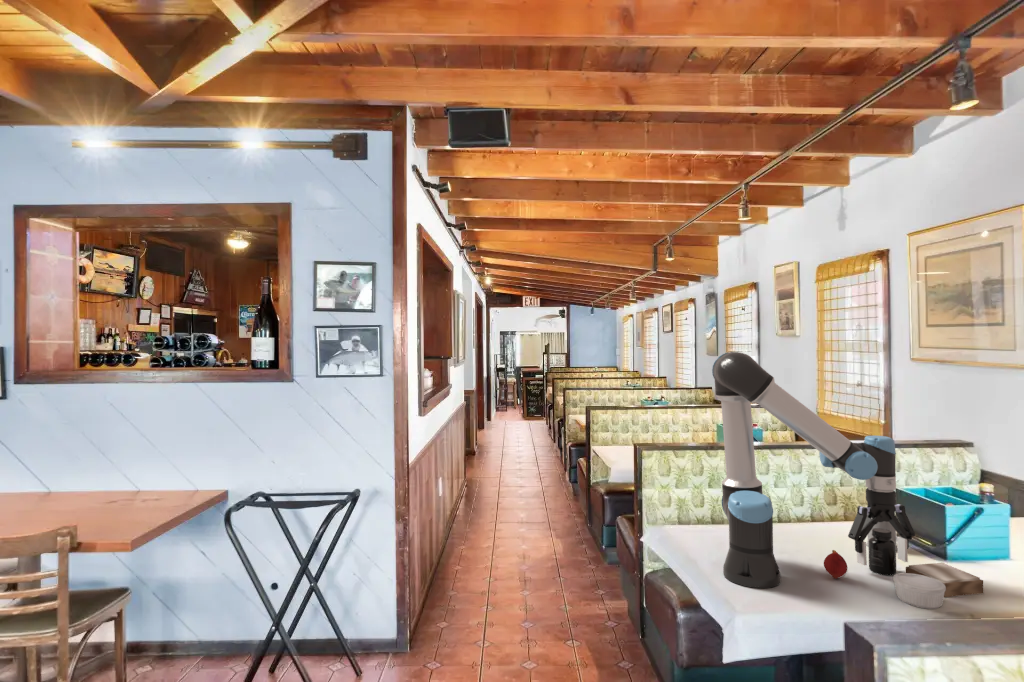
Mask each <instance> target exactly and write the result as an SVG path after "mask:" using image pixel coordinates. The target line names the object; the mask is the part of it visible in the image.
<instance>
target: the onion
mask: <svg viewBox="0 0 1024 682" xmlns="http://www.w3.org/2000/svg"><path fill="white" fill-rule="evenodd" d="M823 567H824V569H825V571H826V572H827V573H828V574H829V575H830V576H831V578H833V579H834V580H836V579H840V578H842V577H843V576H845V574H847V572H848V564H847V561H846V559H845V558H844V557H843V556H842V555H841V554H839V553H838V552H837V551H836V550H835V549H832V552H831V553H829V554H828V555H827V556H826V557H825V558H824V560H823Z"/></svg>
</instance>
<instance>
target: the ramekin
mask: <svg viewBox="0 0 1024 682" xmlns="http://www.w3.org/2000/svg"><path fill="white" fill-rule="evenodd" d="M892 576H893V577H892V581H893V583H894V588H895V593H896V596H897V598H898V599H899V600H900V601H901V600H902V602H903V603H905V604H907V605H910V604H911V605H910V606H912V605H913V607H917V608H921V609H932V610H933V609H938V608H941V606H943V603H944V598H945V597H944V592H945V591H946V586H945V585H944V584H943V583H942V582H940V581H938V580H936V579H934V578H931V577H927V576H923V575H918V574H911V573H906V572H902V573H900V572H899V573H896V574H895V575H892Z"/></svg>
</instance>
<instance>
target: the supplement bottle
mask: <svg viewBox="0 0 1024 682" xmlns="http://www.w3.org/2000/svg"><path fill="white" fill-rule="evenodd" d="M872 536H873V537H872V538H870V539H869V541H868V540H867V541H868V546H867V547H868V569H869V570H870V571H871V572H872V571H873V572H872V573H875V574H877V573H878V575H881V574H882V575H883V576H894V575H895V574H897V551H896V546H897V543H896V544H895V543H894V541H892V540H891V538H892V532H891V531H890V530H887V529H882V528H874V529H872Z"/></svg>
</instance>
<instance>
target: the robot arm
mask: <svg viewBox="0 0 1024 682" xmlns="http://www.w3.org/2000/svg"><path fill="white" fill-rule="evenodd" d="M711 371H712V376H713V377H712V378H713V379H714V391H715V397H716V398H718V400H719V401H720V402H721V403H720V404H721V417H722V418H721V419H722V431H723V445H724V458H725V459H724V460H725V461H724V462H725V471H726V474H725V475H726V477H725V478H724V479H723V480H722V481H721V486H722V496H721V508H722V510H723V513H724V515H725V517H726V519H727V521H728V530H729V531H728V533H729V534H728V539H729V540H728V541H729V547H728V551H727V554H726V558H725V560H724V563H723V566H722V567H723V571H722V572H723V573H722V575H723V576H724V578H726V580H727V581H729V582H732V583H734V584H736V585H739V586H744V587H749V588H757V589H766V588H767V589H768V588H774V587H777V586H779V585H780V584H781V581H782V580H781V572H780V571H781V570H780V568H779V566H778V563H777V560H776V558H775V554H774V529H773V528H774V527H773V526H774V521H773V519H774V518H773V517H774V516H773V515H774V507H773V501H772V499H770V497H769V496H767V495H766V494H764V492H763V491H764V490H763V482H762V481H761V480H760V479H758V478H757V473H756V472H757V471H756V470H757V469H756V457H755V444H754V432H753V431H754V430H753V429H754V427H753V417H752V404H757V405H759V406H760V407H761V408H762V409H764V410H766V411H767V412H768V413H769V414H771V415H772V416H774V418H776V419H777V420H778V421H780V422H781V423H782V424H783V425H785V426H786V427H788V428H789V429H790V430H791V431H793V432H794V433H795V434H796V435H797V436H799V437H800V438H802V439H803V440H804V441H806V442H807V443H808V444H809V445H811V446H812V447H813V448H814V449H816V450H817V451H818V452H819V460H820V464H821V465H822V466H823V467H824V468H831V469H836V468H838V469H840V470H841V471H843V472H845V474H847V475H849V476H850V477H852V478H854V479H855V480H856V479H857V480H860V481H865V487H866V489H865V500H866V502H867V506H866V507H865V506H861V505H858V506H857V510H856V511H857V512H856V515H855V518H854V520H853V522H852V525H851V527H850V530H849V533H848V535H847V537H848V539H851V540H853V541H854V550H855V552H856V562H857V563H859V564H861V565H862V566H867V562H868V561H867V545H866V544H867V542H865V540H866V538H868V534H869V532H870V531H871V529H872V528H873V526H874V525H875V524H877V523H878V522H883V521H885V522H890V524H891V525H892V526H893V527H894V529H895V530H896V533H897V534H898V535H899V536H896V546H897V548H898V550H897V559H898V560H899V561H900V560H901V561H902V562H904V563H906V562H907V563H908V561H909V560H908V550H909V548H910V543H909V542H910V541H909V540H912V539H913V537H915V536H916V533H915V530H914V528H913V525H912V524H911V521H910V519H909V516H908V515H907V514H906V507H905V505H903V504H899V503H897V492H896V491H895V490H897V478H896V477H897V475H896V457H897V456H896V455H897V453H896V443H895V440H894V439H893V438H892V437H889V436H885V435H866V436H865V437H864V441H863V442H852V441H851V440H850V439H849V438H848V437H846V436H845V435H843V434H842V433H841V432H839V430H837V429H836V428H834V427H833V426H832V425H830V424H829V423H828V422H827V421H825V420H824V419H823V418H821V417H820V416H819V415H817V414H816V413H815V412H814V411H812V410H811V409H810V408H809V407H807V406H806V405H804V403H802V402H801V401H799V400H798V399H797V398H795V397H794V396H793V395H791V394H790V393H789V392H788V391H786V390H785V389H784V388H782V387H781V386H780V385H778V383H776V382H775V377H774V376H773V375H771V374H770V373H769V372H768V371H767V370H766V369H764V368H763V367H762V366H761V365H760V364H759V363H758V362H757V361H756V360H755V359H754V358H753V357H751V356H750V355H749V354H747V353H744V352H738V351H730V352H725V353H722V354H721V355H719V356H717V358H716V359H715V361H714V362H713V365H712V369H711ZM894 513H895V515H894ZM895 516H896V517H895ZM871 517H872V519H871Z"/></svg>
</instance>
